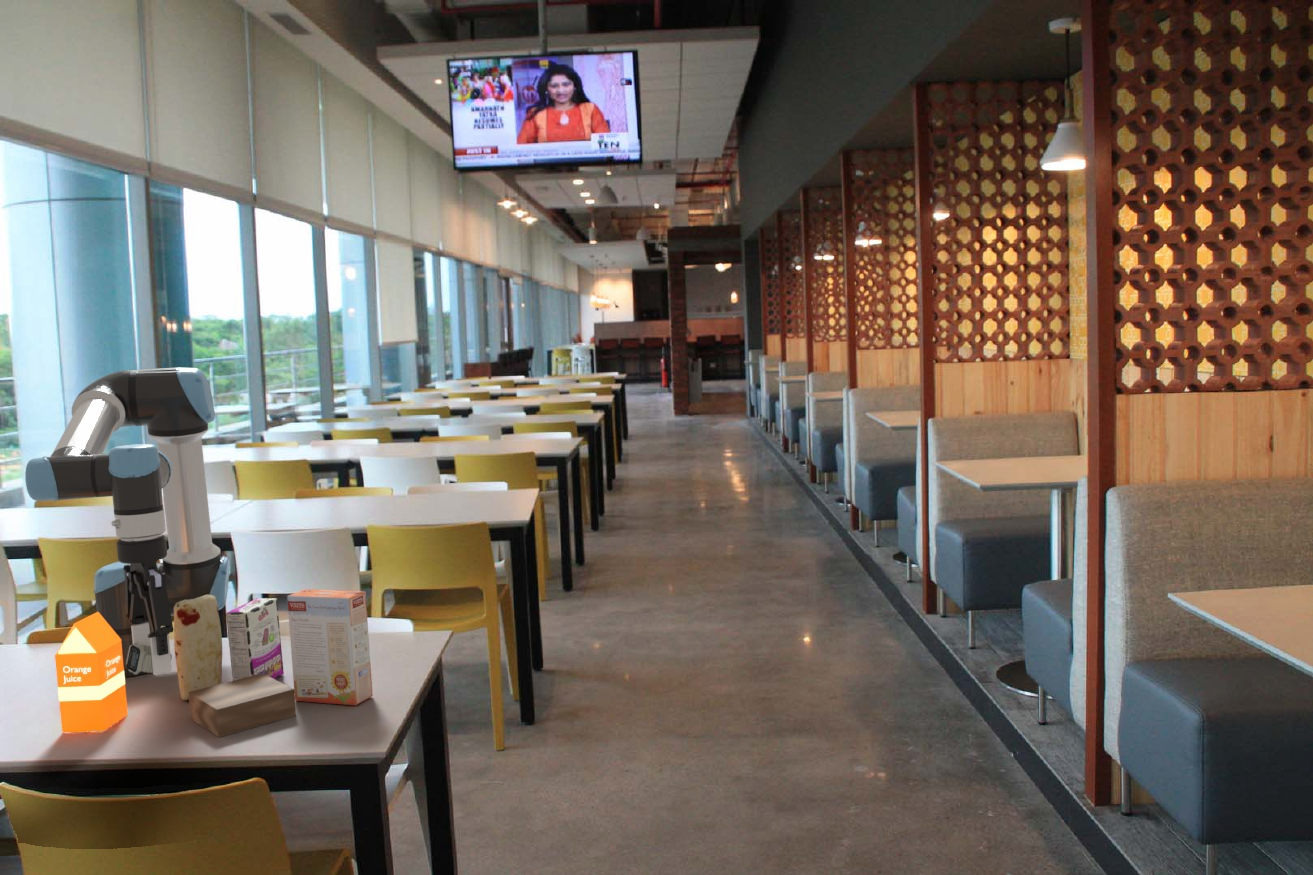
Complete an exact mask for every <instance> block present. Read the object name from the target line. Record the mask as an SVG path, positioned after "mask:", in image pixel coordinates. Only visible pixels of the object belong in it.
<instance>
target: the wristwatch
mask: <svg viewBox="0 0 1313 875" xmlns="http://www.w3.org/2000/svg"><path fill="white" fill-rule="evenodd" d="M170 656H171V660H172V659H173V654H171V653H170ZM126 665H127V668H128V669H129V671H130V672H132V673H133V674H138V673H139V672H140V671H143V672H149V673H151V674H153V665H152V653H151V646H146V645H139V644H138V643H137V642H136V643H134V644H133V645H130V646H129V651H128V655H127V660H126Z"/></svg>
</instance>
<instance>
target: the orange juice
mask: <svg viewBox="0 0 1313 875" xmlns="http://www.w3.org/2000/svg"><path fill="white" fill-rule="evenodd" d="M72 624H73V626H72V627H71V629H70V630H69V631H68V633H67V635H66V636H65V639H64V640H63V642H62V643H61V645H60V647H59V648H58V650H57V652H56V654H55V655H54V658H55V660H54V662H55V670H56V679H57V694H58V702H59V710H60V712H59V713H60V722H61V732H87V731H88V732H90V731H105V730H106V729H107V728H109V727H110V726H111V727H113V726H114V725H115V724H114V723H116V724H118V723H119V720H120V721H122V720H123V719H124V718H126V716H128V715H129V713H128V701H127V693H126V692H127V690H126V677H125V674H124V667H123V655H122V644H121V639H120V638H119V636H118V635H117V634H116V633H115V631H114V630H113V629H112V628H111V627H110V625H109V624H108V623H107V622H106V621H105V619H104V618H103V617H102V616H101V614H100V613H99V612H97V611H96V612H95V613H92V614H91V615H88V616H86V617H84V618H83V619H81V620H80V619H79V621H76V622H74V623H72ZM113 724H114V725H113ZM112 725H113V726H112ZM111 727H110V728H111ZM110 728H109V729H110ZM107 730H108V729H107ZM107 730H106V731H107ZM106 731H105V732H106ZM90 733H91V732H90Z"/></svg>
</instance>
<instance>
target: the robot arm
mask: <svg viewBox="0 0 1313 875" xmlns="http://www.w3.org/2000/svg"><path fill="white" fill-rule="evenodd" d="M214 404H215V403H214V399H213V395H212V390H211V387H210V383H209V381H208V378H207V376H206V374H205V372H204V371H202V370H201V369H200V368H197V367H180V366H179V367H178V366H177V367H165V368H163V367H162V368H147V369H146V368H145V369H134V370H133V369H126V370H125V369H124V370H119V371H115V372H112V373H109V374H106V375H104V376H103V377H101V378H99V379H96V380H94V382H92V383H90V384H88V385H87V386H86V387H85V388H84V389H83V390H81V392H79V394H78V395H77V396H76V398H75V400H74V401H73V402H72V406H71V419H70V421H69V422H68V424H67V426H66V428H65V430H64V432H63V434H62V435H61V437H60V439H59V441H58V442H57V443H56V446H55V448H54V450H53V451H52V453H51V455H50V456H43V457H36V458H31V459H30V460H28V462H27V464H26V466H25V476H24V477H25V485H26V491H27V494H28V496H29V497H30V498H31V499H32V500H34V501H35V502H36V501H37V502H41V501H42V502H44V501H50V502H51V501H53V502H59V501H65V500H67V501H68V500H80V499H90V498H105V497H112V505H113V515H114V520H112V521H111V526H112V527H115V536H116V537H117V538H118V540H117V541H116V551H117V559H118V561H115V562H113V563H110V564H106V565H104V566H102V567H100V568H99V569H97V571H95V574H94V576H93V580H94V583H93V584H94V590H93V593H94V596H95V597H94V598H95V599H94V600H95V606H96V607H95V608H96V612H99V613H100V614H101V616H102V617H103V618H104V619H105V621H106V622H107V623H108V624H109V625H110V627H111V628H112V629H113V630H114V631H115V633H116V634H117V635H118V636H119V638H120V639H121V644H122V655H123V667H124V674H125V678H128V677H134V676H140V675H145V674H148V673H149V672H143V671H140V672H139V673H138V674H133V673H132V672H130V671H129V669H128V668H127V665H126V660H127V655H128V651H129V646H130V645H133V644H134V643H136V642H137V643H138V644H139V645H146V646H151V653H152V665H153V673H152V674H153V675H154V676H157V675H162V674H166V673H171V672H172V671H173V669H172V668H173V667H172V659H171V656H170V654H171V646H170V633H174V623H173V621H172V616H173V617H174V606H175V604H176V603H178V602H179V601H183V600H190V599H195V598H198V597H201V596H204V595H213V596H215V598H216V601H217V606H218V611H220V610H221V609H222V610H223V608H224V607H225V606H226V603H227V598H228V591H229V590H228V589H229V580H230V578H229V577H230V558H229V557H227V556H224V555H223V556H222V553H221V548H220V547H219V546H217V545H216V544H215V543H213V539H212V538H213V537H212V529H211V520H210V508H209V500H208V499H209V498H208V490H207V481H206V480H207V479H206V469H205V460H204V451H203V450H204V449H203V440H202V438H203V436H205V434H206V433H207V432H208V431H209V423H212V422H214V421H215V418H216V414H215V407H214ZM135 426H136V427H139V426H140V427H141V426H145V427H146V428H147V434H148V436H149V437H150V438H152V439H153V440H155V441H156V442H157V444H156V445H157V446H156V445H155V444H151V443H138V444H126V445H125V444H124V445H119V446H115V447H112V448H111V449H110V450H109V453H104V452H105V450H106V448H107V446H108V445H109V444H108V443H109V442H110V440H111V437H112V434H113V433H115V432H116V431H117V430H119V429H120V428H123V427H135ZM166 530H167V531H166ZM165 532H167V537H166V536H165V535H164V533H165ZM167 540H168V541H167ZM167 544H168V546H167ZM159 560H162V562H158V561H159Z"/></svg>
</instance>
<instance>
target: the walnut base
mask: <svg viewBox="0 0 1313 875" xmlns="http://www.w3.org/2000/svg"><path fill="white" fill-rule="evenodd" d="M188 696H189V700H188V704H189V705H188V706H189V718H190V719H191V720H192V721H194V722H195V723H197V724H198V725H200V726H201V727H203V728H204V729H206V730H207V731H209V732H210V733H212V734H214V735H215V736H216V737H218V738H222V737H224V736H229V735H232V734H236V733H239V732H240V733H241V732H242V731H246V730H250V729H254V728H257V727H260V726H264V725H267V724H270V723H271V724H272V723H274V722H277V721H282V720H285V719H288V718H292V717H295V716H297V711H296V710H297V709H296V701H295V693H294V687H291V686H289V685H287V684H285V683H282V682H281V681H279V680H277V679H276V680H275V679H273V678H271V677H269V676H267V675H265V674H263V673H262V674H258V675H254V676H250V677H246V678H242V679H238V680H234V681H233V680H231V681H227V682H223V683H222V682H221V684H218V685H214V686H210V687H206V688H202V689H199V690H195V691H191V692H188Z"/></svg>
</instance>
